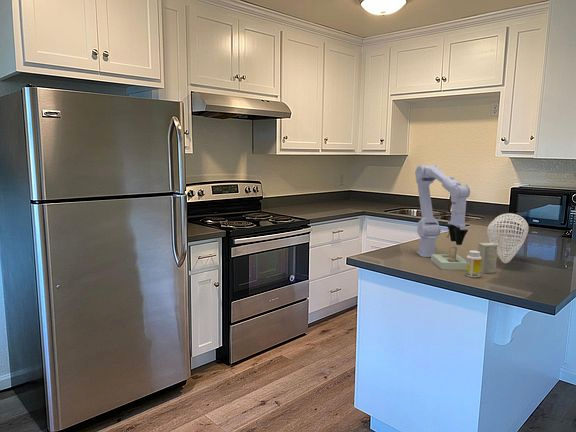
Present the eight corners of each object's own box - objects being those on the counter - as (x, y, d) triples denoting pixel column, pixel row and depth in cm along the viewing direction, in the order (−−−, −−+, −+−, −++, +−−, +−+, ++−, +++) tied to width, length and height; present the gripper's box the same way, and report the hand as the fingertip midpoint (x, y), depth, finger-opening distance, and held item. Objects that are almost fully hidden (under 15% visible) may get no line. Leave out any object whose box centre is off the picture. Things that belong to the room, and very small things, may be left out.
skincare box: (490, 270, 184) (492, 242, 182) (495, 273, 179) (498, 244, 178) (476, 270, 183) (478, 242, 182) (481, 273, 179) (483, 244, 177)
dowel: (447, 266, 190) (448, 246, 188) (454, 266, 189) (455, 246, 188) (448, 268, 187) (450, 247, 186) (456, 268, 186) (457, 248, 185)
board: (431, 260, 200) (431, 254, 200) (457, 260, 200) (457, 254, 199) (441, 269, 184) (441, 262, 184) (469, 270, 184) (470, 263, 183)
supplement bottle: (482, 275, 175) (484, 251, 174) (477, 278, 171) (479, 253, 170) (468, 273, 179) (470, 249, 177) (463, 275, 175) (465, 251, 173)
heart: (490, 255, 212) (494, 210, 209) (526, 259, 204) (530, 213, 201) (482, 267, 189) (486, 217, 186) (522, 272, 181) (526, 220, 177)
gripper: (444, 210, 195) (442, 239, 197) (454, 214, 181) (452, 246, 183) (460, 210, 194) (457, 239, 196) (471, 215, 180) (468, 246, 182)
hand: (456, 243), depth 189 cm, fingers open, 7 cm apart
